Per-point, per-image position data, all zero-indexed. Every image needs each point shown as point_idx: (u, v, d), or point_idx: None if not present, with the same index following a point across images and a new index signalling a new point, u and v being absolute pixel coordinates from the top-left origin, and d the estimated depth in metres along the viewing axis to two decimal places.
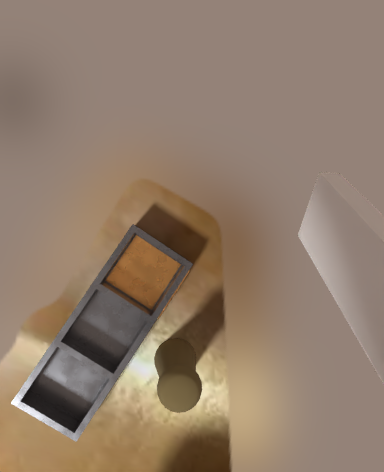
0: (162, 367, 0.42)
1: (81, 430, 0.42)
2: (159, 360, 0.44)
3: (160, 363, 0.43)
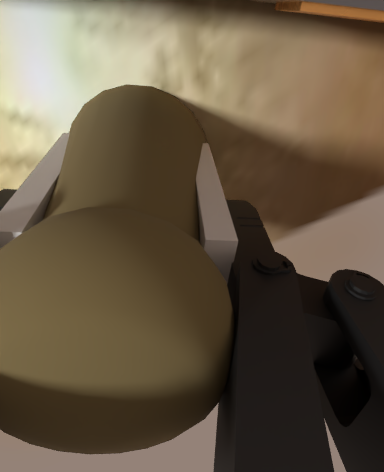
0: (117, 159, 0.08)
1: None
2: (121, 122, 0.10)
3: (119, 137, 0.09)
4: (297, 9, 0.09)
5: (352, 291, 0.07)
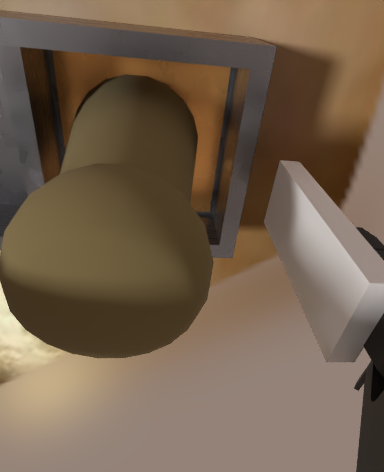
0: (118, 133, 0.10)
1: None
2: (121, 105, 0.12)
3: (119, 116, 0.11)
4: None
5: None
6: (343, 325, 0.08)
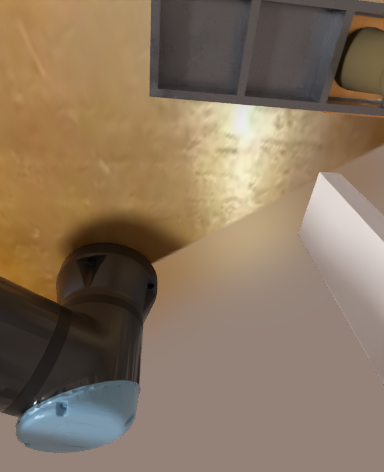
0: None
1: (164, 95, 0.33)
2: None
3: None
4: (323, 111, 0.35)
5: None
6: None
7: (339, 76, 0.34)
